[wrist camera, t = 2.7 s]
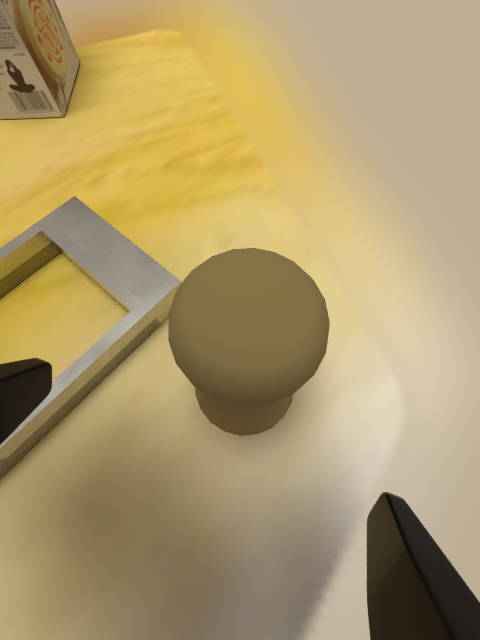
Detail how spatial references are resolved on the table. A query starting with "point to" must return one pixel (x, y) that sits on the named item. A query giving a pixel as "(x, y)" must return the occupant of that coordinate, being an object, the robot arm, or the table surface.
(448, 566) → the robot arm
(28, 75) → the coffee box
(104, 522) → the table surface
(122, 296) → the silver metal frame
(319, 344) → the cork
